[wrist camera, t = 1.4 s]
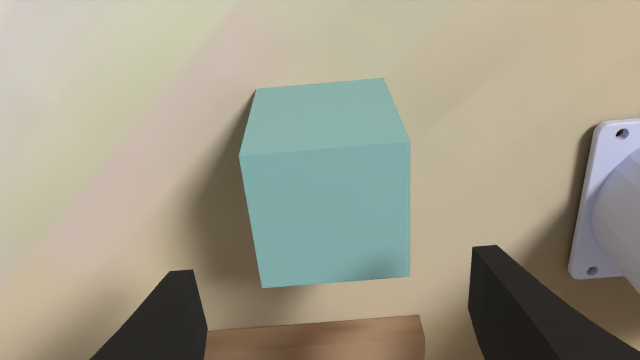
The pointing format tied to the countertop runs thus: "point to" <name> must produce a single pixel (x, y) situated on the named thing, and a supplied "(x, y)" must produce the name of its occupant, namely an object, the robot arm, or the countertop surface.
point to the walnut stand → (322, 341)
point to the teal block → (327, 183)
